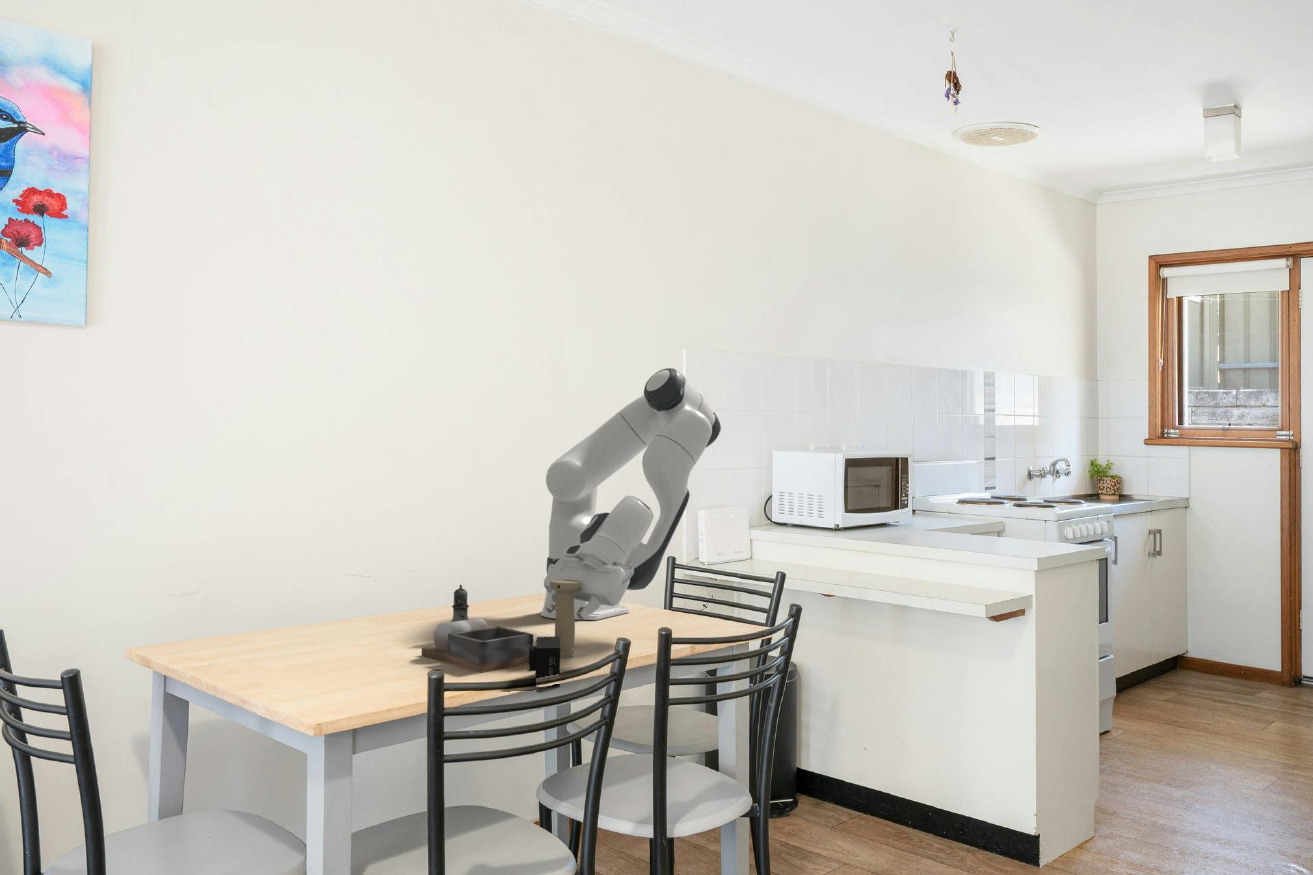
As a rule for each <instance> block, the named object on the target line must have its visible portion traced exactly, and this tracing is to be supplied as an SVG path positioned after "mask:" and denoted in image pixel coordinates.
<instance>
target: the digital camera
mask: <svg viewBox="0 0 1313 875" xmlns="http://www.w3.org/2000/svg"><path fill="white" fill-rule="evenodd" d="M528 672H535V678H540V677H545V676H550V675H556V674H560V675H561V658H560V637H555V636H536V643H535V645H533V646H529V664H528ZM560 686H561V684H554V685H552V686H547V687H546V688H561V687H560Z"/></svg>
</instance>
